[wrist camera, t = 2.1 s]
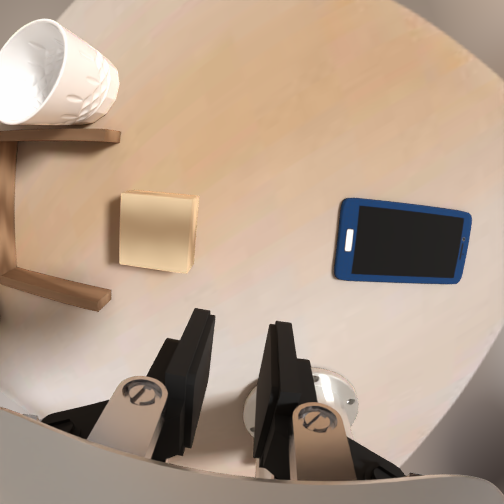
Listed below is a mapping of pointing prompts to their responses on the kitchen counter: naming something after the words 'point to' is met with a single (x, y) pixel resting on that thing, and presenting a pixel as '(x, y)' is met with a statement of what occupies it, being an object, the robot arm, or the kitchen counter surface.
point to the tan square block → (158, 230)
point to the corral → (3, 227)
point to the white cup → (54, 78)
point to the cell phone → (400, 242)
